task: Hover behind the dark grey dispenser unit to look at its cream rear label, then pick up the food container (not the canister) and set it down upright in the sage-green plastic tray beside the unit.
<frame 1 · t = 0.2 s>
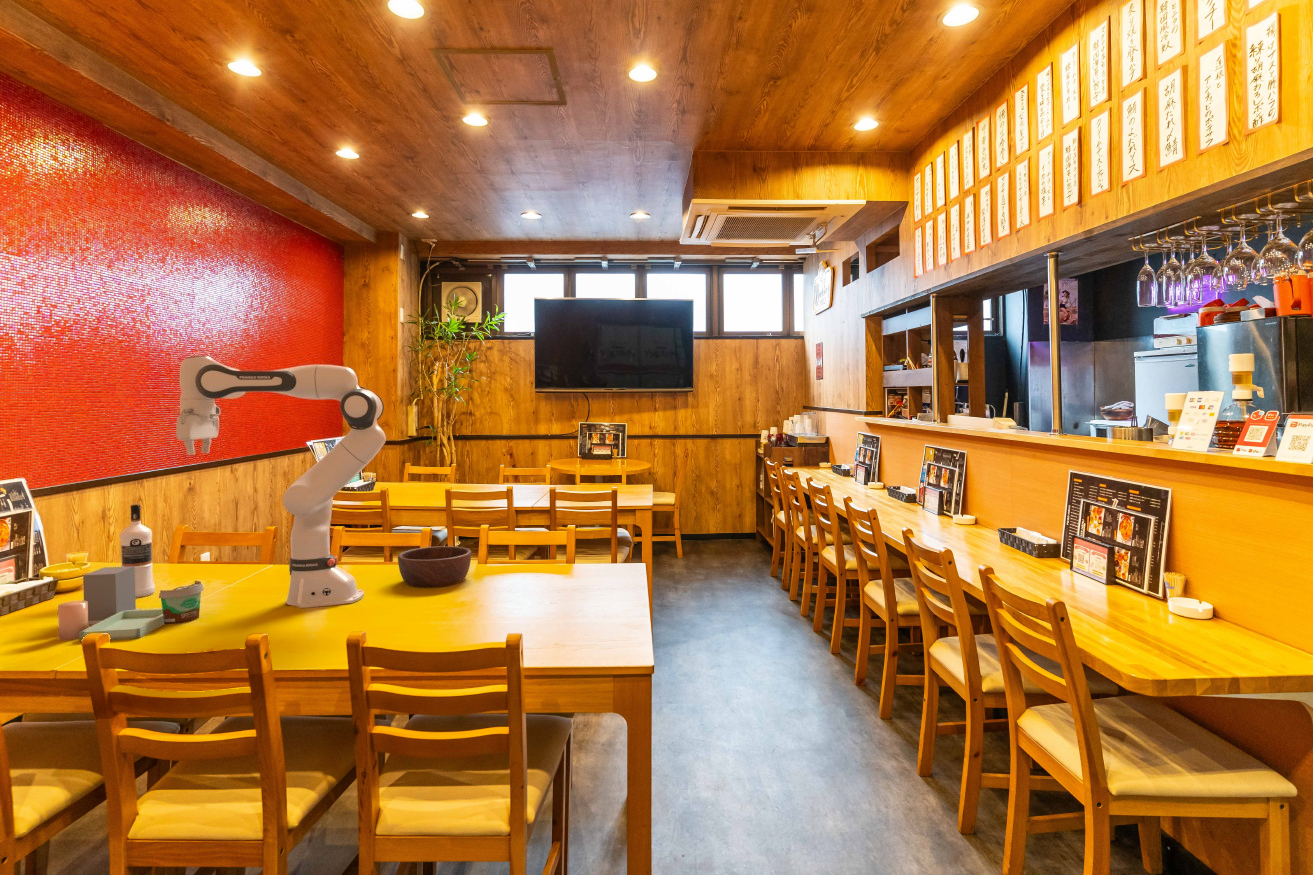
hand: (198, 454, 208), 47 cm above the table, fingers open, 8 cm apart
canister: (73, 636, 181), on the table
food container: (187, 620, 195), on the table
vodka: (137, 595, 223), on the table
wooden bowl: (435, 581, 241), on the table
dispenser unit: (110, 617, 197), on the table
tray: (131, 628, 188), on the table
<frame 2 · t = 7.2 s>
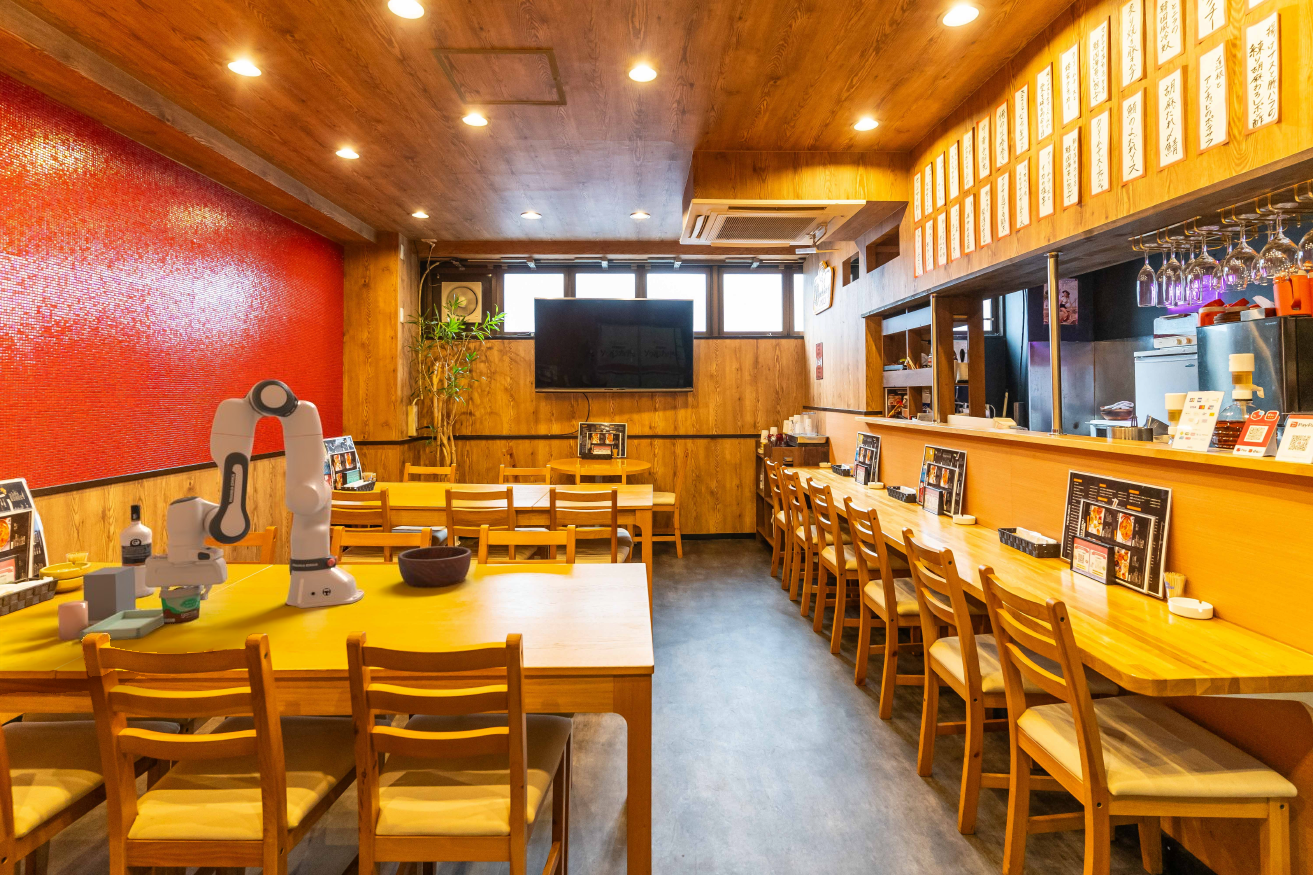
hand: (187, 600, 195), 6 cm above the table, fingers open, 7 cm apart
food container: (187, 620, 195), on the table, touching gripper
everything else where it was.
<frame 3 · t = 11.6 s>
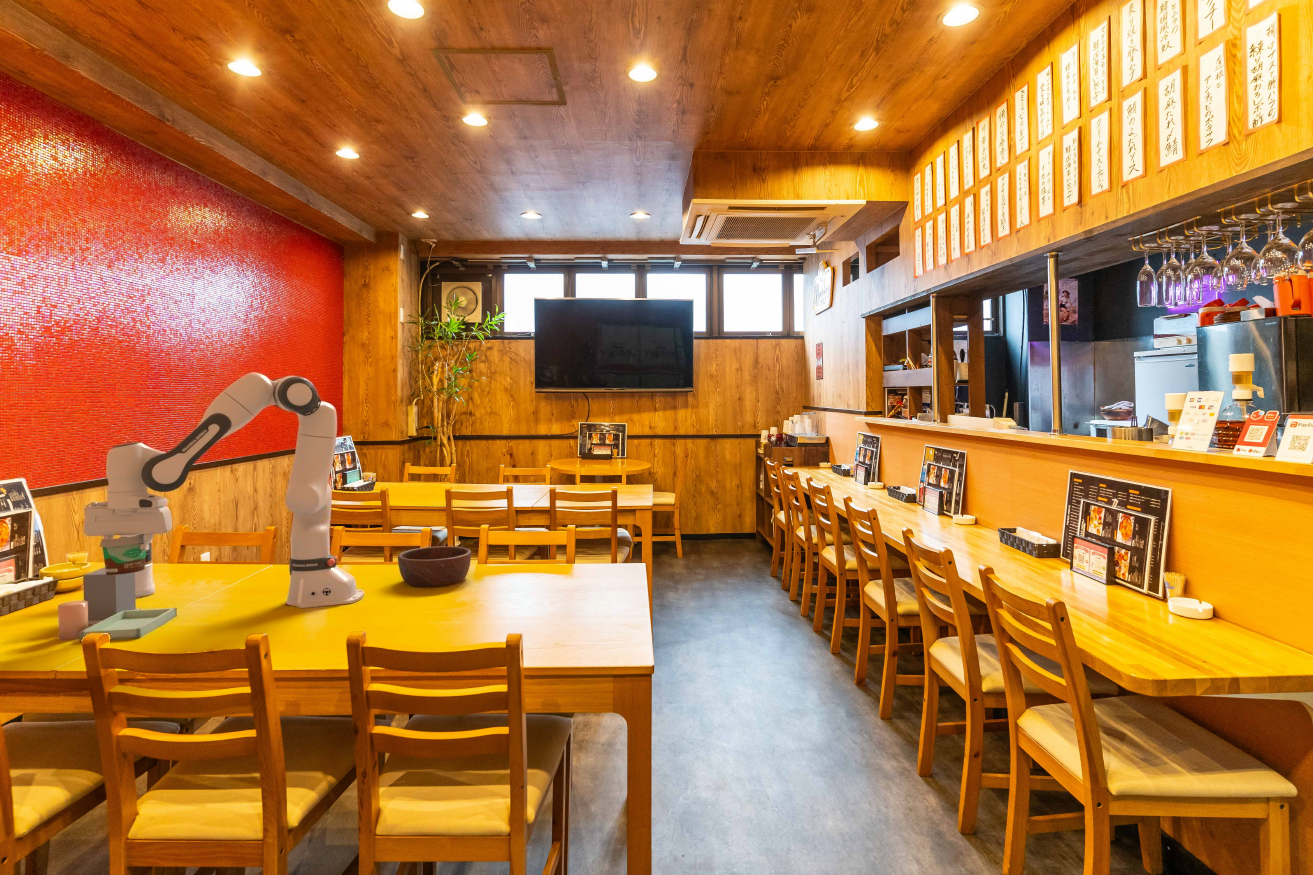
hand: (129, 550, 187), 22 cm above the table, fingers closed on food container, 6 cm apart
food container: (132, 571, 188), point 16 cm above the table, touching gripper
everything else where it was.
when the fingers open (7 cm above the table, at t = 15.8 s): food container moves 1 cm, resting on tray.
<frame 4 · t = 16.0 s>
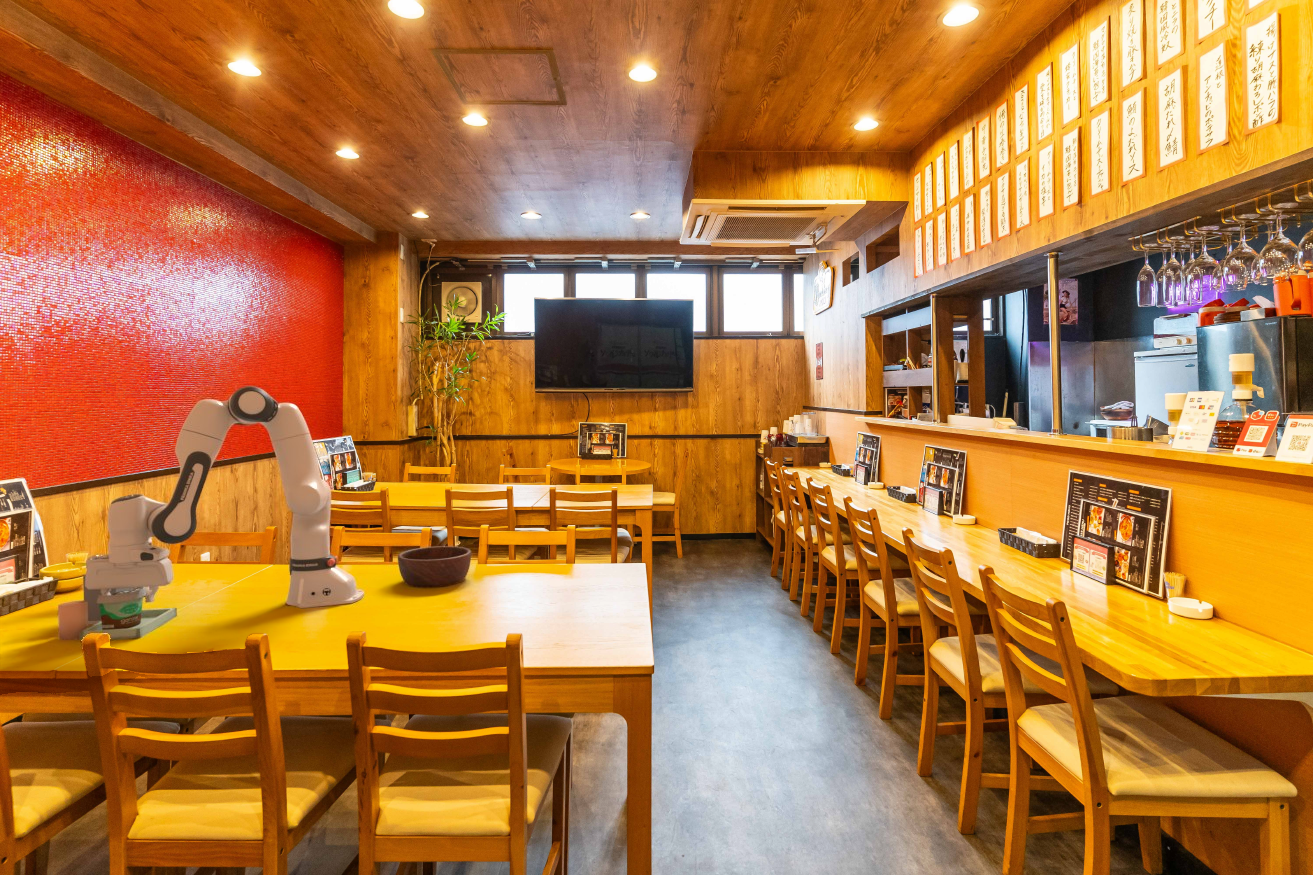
hand: (130, 602, 188), 7 cm above the table, fingers open, 8 cm apart
food container: (128, 626, 188), resting on tray, touching gripper
everything else where it was.
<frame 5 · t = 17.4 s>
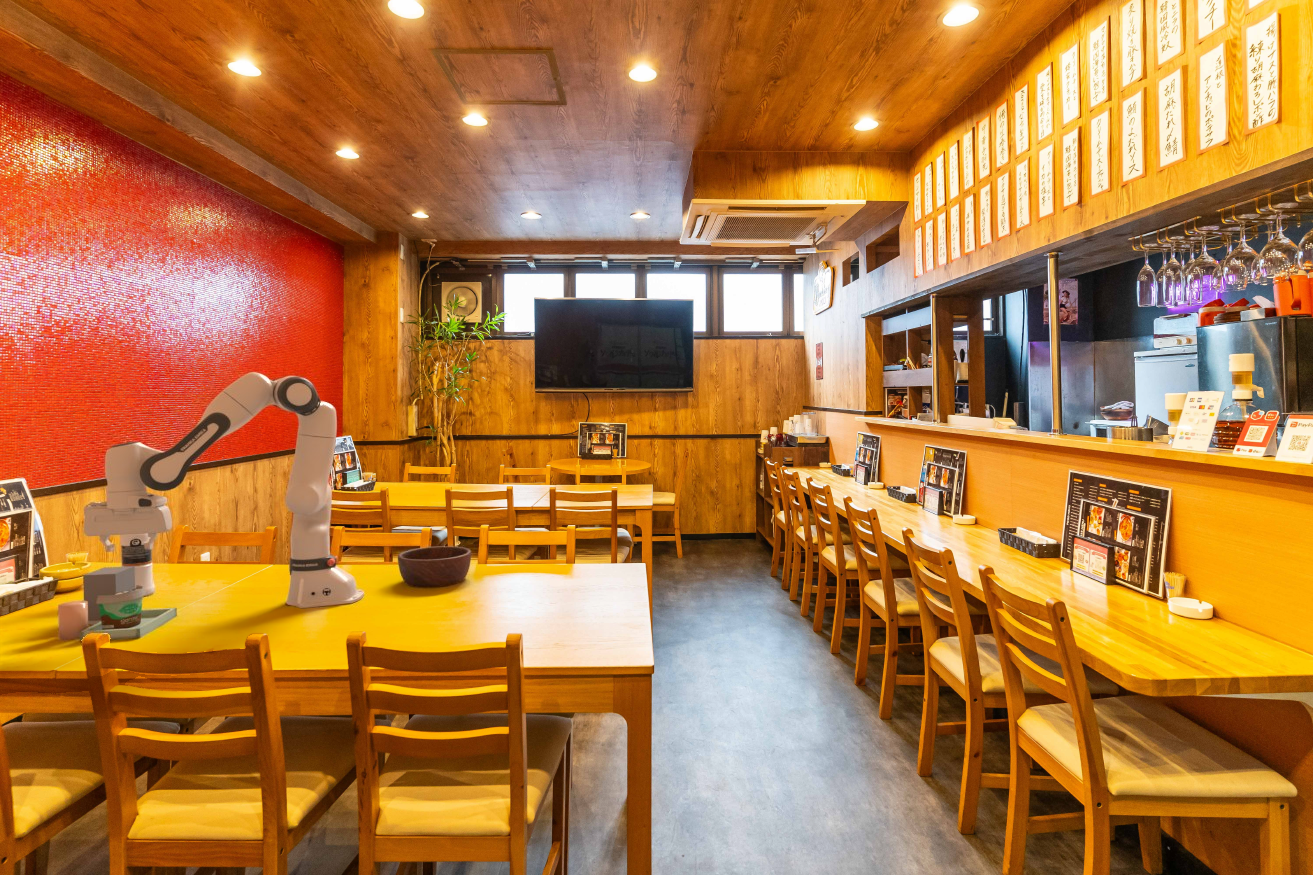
hand: (129, 550, 187), 22 cm above the table, fingers open, 8 cm apart
food container: (128, 626, 188), resting on tray
everything else where it was.
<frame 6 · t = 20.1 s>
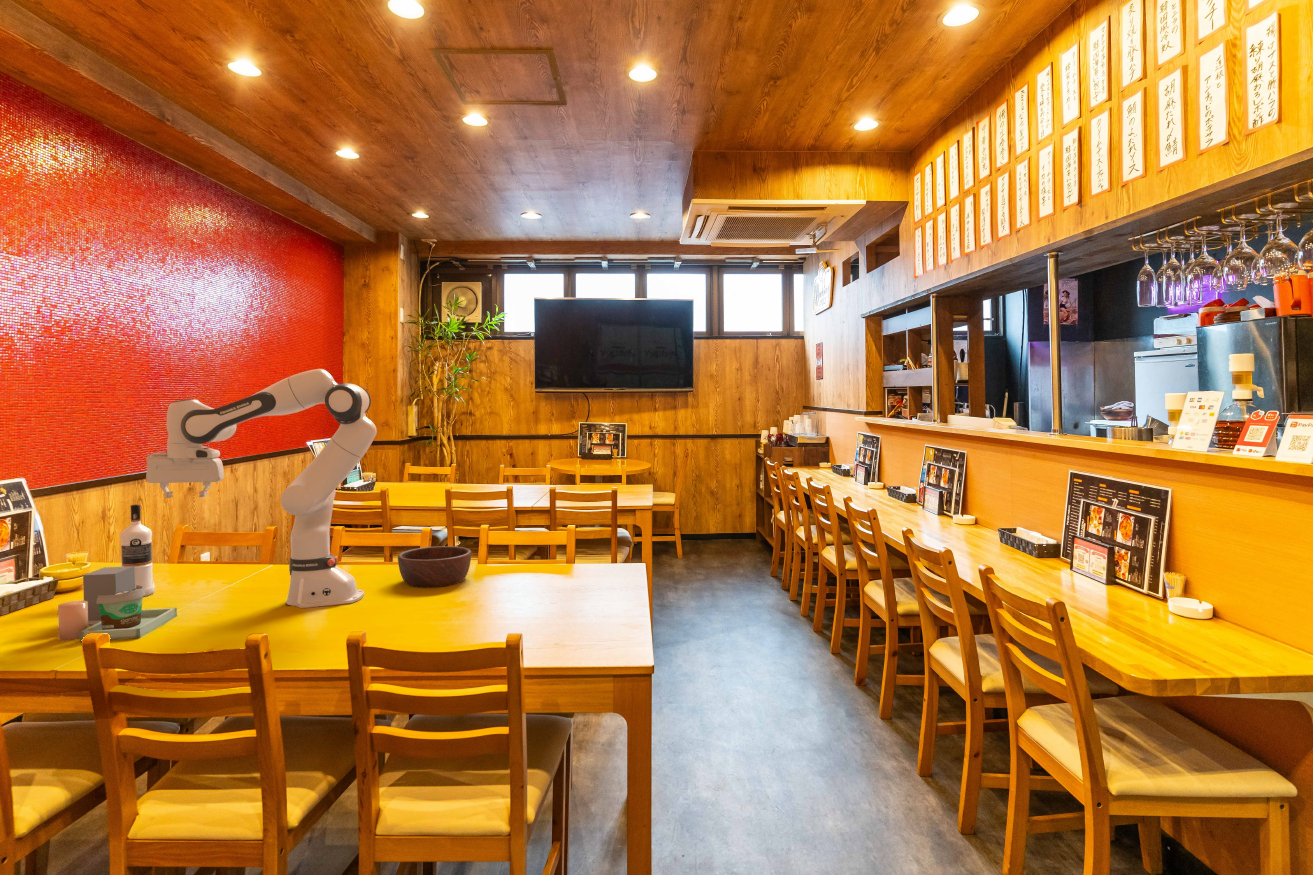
hand: (186, 497, 208), 34 cm above the table, fingers open, 8 cm apart
nothing on the table moved.
at the end: food container inside the target area on the tray (0.6 cm from its centre), point 0.4 cm above the tray's base; food container tilted 0°; the gripper is holding nothing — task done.
